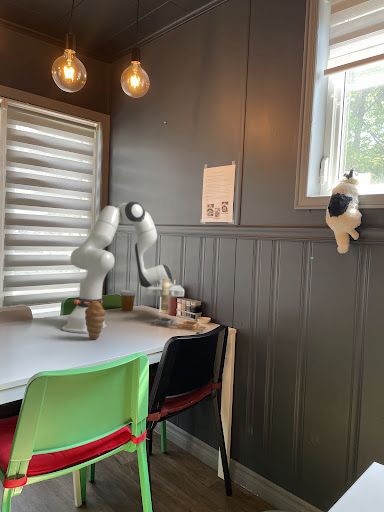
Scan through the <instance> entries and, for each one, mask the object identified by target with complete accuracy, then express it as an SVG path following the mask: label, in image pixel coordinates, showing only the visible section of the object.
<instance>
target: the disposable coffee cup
mask: <svg viewBox="0 0 384 512" xmlns="http://www.w3.org/2000/svg"><path fill="white" fill-rule="evenodd" d="M119 294H120V296H121V297H120V298H121V299H120V300H121V310H122V311H123V312H126V313H127V312H133V309H134V304H135V298H136V295H137V293H136V290H132V289H122V290H120V293H119Z"/></svg>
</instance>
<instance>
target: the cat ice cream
mask: <svg viewBox="0 0 384 512" xmlns="http://www.w3.org/2000/svg"><path fill="white" fill-rule="evenodd" d="M101 302H102V300H99V301H92V300H89V303H90V304H89V307H88V308H87V309H86V310H85V314H86V316H85V320H86V326H87V331H88V337H89V338H90V339H91V340H97V339H99V338H100V335H101V332H102V329H103V328H102V327H103V322H104V323H105V319H106V318H105V315H106V314H107V313H106V310H105V308H104V307H103V304H102V305H101ZM101 328H102V329H101Z"/></svg>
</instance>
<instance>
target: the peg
mask: <svg viewBox="0 0 384 512" xmlns="http://www.w3.org/2000/svg"><path fill="white" fill-rule="evenodd" d="M169 292H170V279H163V282H162V297H160V298H161V300H160V303H161V304H160V310H161V311H169V308H170V307H169V306H170V298H169Z"/></svg>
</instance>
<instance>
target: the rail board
mask: <svg viewBox="0 0 384 512" xmlns="http://www.w3.org/2000/svg"><path fill="white" fill-rule="evenodd" d="M147 326H151V327H157V328H164V329H172V330H179V331H187V332H192V333H195V335H197V334H200V333H201V334H202V333H203V332H204V331H205V330H206V329H205V328H207V327H206V326H201V324H200V322H199V321H193V320H192V321H191V320H183V321H181V322H180V323H179V322H175V318H170V317H169V318H168V317H162V316H160V317H157V318H156V319H154V320H153V321H152V322H151V323H149V324H147ZM204 329H205V330H204ZM203 330H204V331H203ZM202 331H203V332H202ZM201 334H200V335H201Z"/></svg>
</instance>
